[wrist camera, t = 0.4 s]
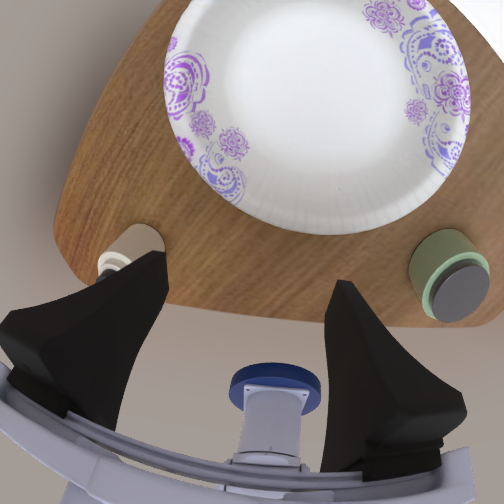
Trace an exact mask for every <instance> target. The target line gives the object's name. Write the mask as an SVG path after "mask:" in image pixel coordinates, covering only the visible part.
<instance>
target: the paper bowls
mask: <svg viewBox="0 0 504 504" xmlns="http://www.w3.org/2000/svg"><path fill="white" fill-rule="evenodd" d="M164 97H165V102H166V109H167V113H168V117H169V121H170V123H171V126H172V129H173V131H174V134H175V137H176V139H177V141H178V143H179V145H180V147H181V149H182V151H183V153H184V154H185V156H186V158H187V159H188V160H189V162H190V163H191V165H192V166H193V167H194V168H195V169H196V170H197V172H198V173H199V175H200V176H201V177H202V178H203V179H204V180H205V181H206V182H207V183H208V184H209V185H210V187H212V189H213V190H215V191H216V192H217V193H218V194H219V195H221V196H222V197H223V198H224V199H225V200H227V201H228V202H230V203H231V204H233V205H234V206H235V207H237V208H238V209H240V210H242V211H244V212H245V213H247V214H249V215H251V216H253V217H255V218H257V219H259V220H262V221H264V222H266V223H269V224H271V225H274V226H277V227H280V228H284V229H287V230H291V231H297V232H302V233H309V234H318V235H339V234H351V233H357V232H361V231H367V230H371V229H374V228H377V227H381V226H383V225H386V224H388V223H391V222H393V221H395V220H397V219H399V218H401V217H403V216H405V215H407V214H408V213H410V212H411V211H413V210H414V209H416V208H417V207H419V206H420V205H421V204H423V203H424V202H425V201H426V200H427V199H429V198H430V196H432V195H433V194H434V193H435V191H436V190H438V189H439V188H440V186H441V185H442V184H443V182H444V181H445V179H446V178H447V177H448V176H449V174H450V172H451V171H452V169H453V167H454V166H455V164H456V162H457V160H458V158H459V156H460V153H461V151H462V148H463V145H464V143H465V139H466V135H467V131H468V127H469V119H470V103H471V102H470V88H469V81H468V76H467V72H466V68H465V64H464V61H463V58H462V55H461V52H460V50H459V48H458V46H457V43H456V41H455V39H454V37H453V35H452V33H451V32H450V30H449V28H448V27H447V25H446V23H445V22H444V20H443V19H442V18H441V16H440V15H439V14H438V13H437V11H436V10H435V9H434V8H433V7H432V5H431V4H430V3H429V2H428V1H427V0H192V2H191V3H190V4H189V6H188V7H187V9H186V10H185V12H184V13H183V14H182V16H181V18H180V20H179V22H178V23H177V25H176V28H175V30H174V32H173V35H172V36H171V41H170V44H169V46H168V50H167V56H166V59H165V67H164Z"/></svg>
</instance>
